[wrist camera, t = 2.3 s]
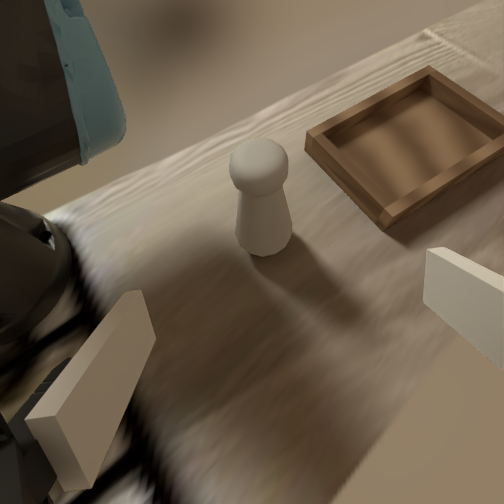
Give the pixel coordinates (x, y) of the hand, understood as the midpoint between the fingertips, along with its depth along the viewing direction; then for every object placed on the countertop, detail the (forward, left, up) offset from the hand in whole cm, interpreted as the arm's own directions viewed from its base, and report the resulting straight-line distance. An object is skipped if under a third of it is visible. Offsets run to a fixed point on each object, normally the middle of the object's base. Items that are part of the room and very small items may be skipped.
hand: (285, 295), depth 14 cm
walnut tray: (+10, +25, -15) cm, 31 cm away
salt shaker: (-4, +10, -15) cm, 19 cm away
